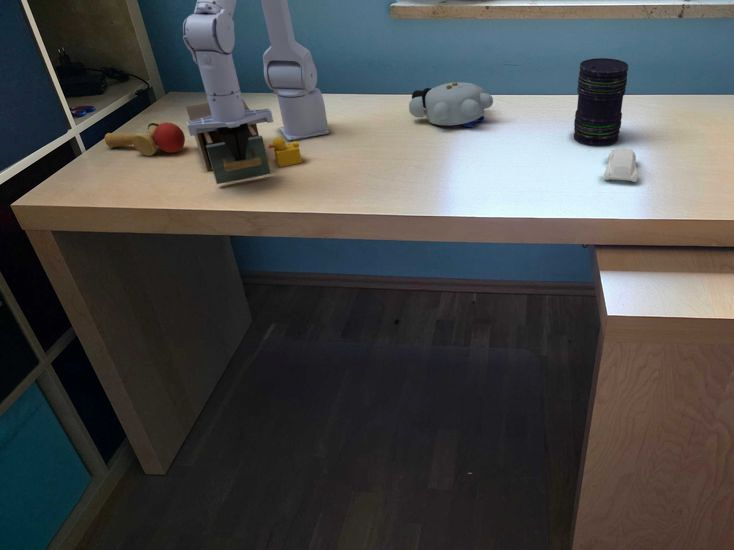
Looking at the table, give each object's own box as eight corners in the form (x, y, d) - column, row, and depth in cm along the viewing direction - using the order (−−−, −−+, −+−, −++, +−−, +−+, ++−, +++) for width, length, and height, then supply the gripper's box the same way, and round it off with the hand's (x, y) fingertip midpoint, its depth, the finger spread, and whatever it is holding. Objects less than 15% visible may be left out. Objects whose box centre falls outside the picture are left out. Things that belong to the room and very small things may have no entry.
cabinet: (264, 160, 131) (254, 117, 126) (207, 171, 128) (194, 127, 122) (251, 138, 141) (241, 97, 135) (198, 148, 137) (185, 106, 131)
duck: (298, 156, 133) (293, 131, 129) (302, 162, 130) (298, 137, 127) (271, 162, 131) (265, 137, 127) (274, 168, 128) (269, 142, 125)
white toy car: (637, 186, 119) (641, 162, 116) (603, 184, 120) (606, 160, 117) (637, 160, 128) (640, 138, 125) (605, 158, 129) (608, 136, 126)
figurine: (507, 113, 149) (440, 107, 159) (504, 75, 144) (436, 71, 154) (463, 137, 138) (395, 128, 149) (459, 96, 133) (388, 90, 144)
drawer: (276, 182, 121) (268, 145, 116) (221, 194, 118) (210, 156, 113) (257, 151, 133) (249, 117, 128) (207, 161, 129) (197, 125, 125)
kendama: (102, 161, 136) (174, 155, 131) (91, 130, 133) (164, 123, 128) (127, 153, 142) (196, 147, 138) (116, 124, 139) (187, 116, 135)
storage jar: (597, 126, 143) (605, 55, 134) (628, 139, 137) (639, 66, 127) (563, 136, 139) (569, 63, 129) (594, 150, 132) (602, 75, 123)
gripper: (182, 104, 105) (204, 181, 114) (269, 90, 110) (285, 166, 118) (177, 92, 110) (199, 167, 119) (261, 80, 115) (276, 153, 123)
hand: (241, 166), depth 119 cm, fingers closed, pressing on drawer
